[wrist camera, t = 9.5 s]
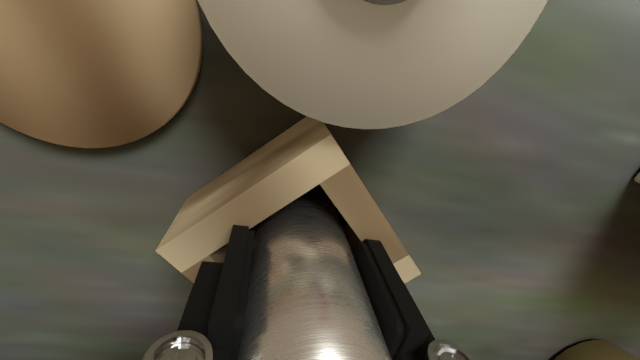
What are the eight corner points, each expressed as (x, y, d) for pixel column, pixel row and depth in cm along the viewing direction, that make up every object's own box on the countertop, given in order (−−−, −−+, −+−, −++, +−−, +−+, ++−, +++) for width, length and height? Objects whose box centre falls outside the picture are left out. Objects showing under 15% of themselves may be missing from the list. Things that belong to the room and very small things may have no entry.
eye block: (278, 287, 16) (278, 355, 13) (188, 197, 13) (155, 250, 10) (387, 221, 15) (421, 273, 12) (315, 110, 13) (331, 134, 9)
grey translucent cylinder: (285, 254, 15) (301, 626, 5) (238, 203, 14) (142, 590, 4) (346, 216, 15) (485, 544, 5) (305, 159, 13) (387, 467, 3)
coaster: (83, 183, 13) (73, 189, 12) (-173, -35, 9) (-203, -41, 8) (253, 60, 12) (251, 61, 11) (43, -243, 8) (26, -265, 7)
